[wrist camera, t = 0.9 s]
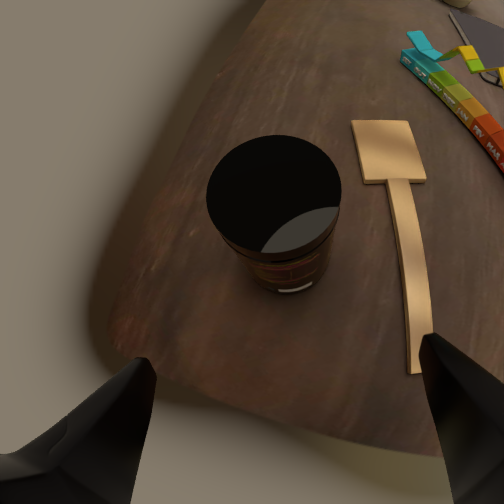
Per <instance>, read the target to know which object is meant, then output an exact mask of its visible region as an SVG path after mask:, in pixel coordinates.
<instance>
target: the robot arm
mask: <svg viewBox="0 0 504 504" xmlns="http://www.w3.org/2000/svg"><path fill="white" fill-rule="evenodd" d="M418 357H419V362H420V367H421V371H422V376H423V381H424V386H425V391H426V395H427V400H428V403H429V406H430V410H431V413H432V416H433V420H434V423H435V426H436V430H437V433H438V437H439V441H440V444H441V448H442V452H443V456H444V460H445V464H446V468H447V473H448V477H449V482H450V487H451V492H452V497H453V502H454V504H504V384H503V383H502V382H501V381H500V380H498V379H497V378H496V377H494V376H493V375H492V374H490V373H489V372H488V371H487V370H485V369H484V368H483V367H481V366H480V365H479V364H477V363H476V362H475V361H473V360H472V359H471V358H469V357H468V356H467V355H465V354H464V353H463V352H461V351H460V350H459V349H457V348H456V347H455V346H453V345H452V344H451V343H449V342H448V341H447V340H445V339H444V338H442V337H441V336H440V335H438V334H437V333H434V332H433V333H428V334H425V335H423V337H422V341H421V345H420V349H419V354H418ZM156 381H157V376H156V373H155V371H154V369H153V367H152V365H151V363H150V361H149V360H148V359H147V358H142V357H137V358H135V359H133V360H132V361H131V362H130V363H129V364H127V365H126V366H125V367H124V368H123V369H121V370H120V371H119V372H118V373H117V374H115V375H114V376H113V377H112V378H111V379H109V380H108V381H107V382H106V383H105V384H103V385H102V386H101V387H100V388H99V389H98V390H96V391H95V392H94V393H93V394H91V395H90V396H89V397H88V398H87V399H86V400H84V401H83V402H82V403H81V404H79V405H78V406H77V407H76V408H75V409H73V410H72V411H71V412H70V413H69V414H68V415H67V416H65V417H64V418H62V419H61V420H60V421H59V422H58V423H56V424H55V425H54V426H52V427H51V428H50V429H49V430H47V431H46V432H44V433H43V434H42V435H40V436H39V437H37V438H36V439H34V440H33V441H31V442H30V443H28V444H27V445H25V446H24V447H22V448H21V449H19V450H17V451H15V452H13V453H9V454H0V504H130V502H131V498H132V493H133V488H134V484H135V480H136V475H137V471H138V467H139V462H140V459H141V454H142V450H143V446H144V442H145V438H146V434H147V430H148V426H149V422H150V418H151V413H152V407H153V400H154V393H155V387H156Z"/></svg>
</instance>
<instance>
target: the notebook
mask: <svg viewBox="0 0 504 504" xmlns="http://www.w3.org/2000/svg"><path fill="white" fill-rule="evenodd" d="M449 17H450V18H451V20H452V22H453V23H454V25H455V27H456V28H457V30H458V32H459V34H460V35H461V37H462V39H463V41H464V43H465V45H466V46H467V45H472V46H473V48H474V50H475V51H476V53H477V55H478V57H479V59H480V61H481V62H482V64H483V66H484V68H485V69H490V68H497V67H504V29H503V28H501V27H499V26H497V25H494V24H492V23H490V22H487V21H485V20H482V19H480V18H477V17H474V16H472V15H469V14H466V13H463V12H461V11H457V10H454V9H450V14H449ZM480 75H481V77H482V78H483V79H484V80H485V81H487V82H490V83H492V84H495V85H497V86H500V87H503V86H502V83H501V80H500V77H499V74H498V71H497V70H495V71H487V72H480Z"/></svg>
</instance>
